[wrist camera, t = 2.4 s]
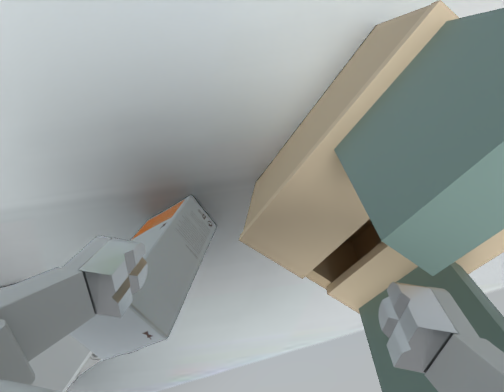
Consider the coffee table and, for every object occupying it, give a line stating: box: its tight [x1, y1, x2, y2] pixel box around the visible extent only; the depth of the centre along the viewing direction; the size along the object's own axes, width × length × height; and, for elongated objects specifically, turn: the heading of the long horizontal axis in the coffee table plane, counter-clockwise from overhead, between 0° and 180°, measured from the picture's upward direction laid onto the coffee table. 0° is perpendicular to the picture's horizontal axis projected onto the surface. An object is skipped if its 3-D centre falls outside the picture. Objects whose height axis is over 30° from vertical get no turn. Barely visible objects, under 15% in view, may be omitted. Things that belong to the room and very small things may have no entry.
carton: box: [243, 5, 430, 290], centre depth 17 cm, size 14×11×8 cm
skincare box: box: [70, 195, 216, 361], centre depth 21 cm, size 6×4×12 cm
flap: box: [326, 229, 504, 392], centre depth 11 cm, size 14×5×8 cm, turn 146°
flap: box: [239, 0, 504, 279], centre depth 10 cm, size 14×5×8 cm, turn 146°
